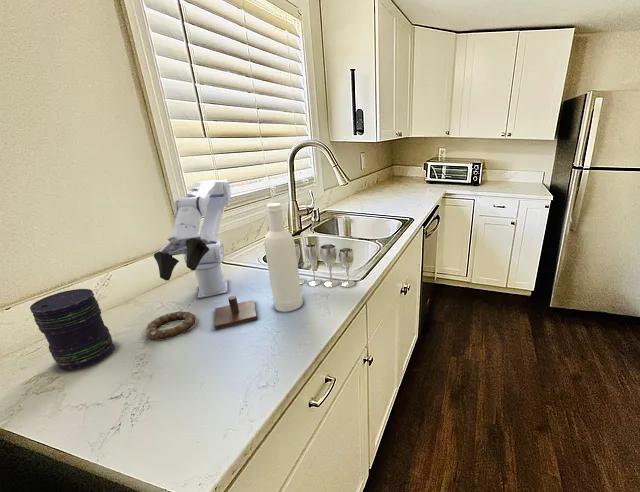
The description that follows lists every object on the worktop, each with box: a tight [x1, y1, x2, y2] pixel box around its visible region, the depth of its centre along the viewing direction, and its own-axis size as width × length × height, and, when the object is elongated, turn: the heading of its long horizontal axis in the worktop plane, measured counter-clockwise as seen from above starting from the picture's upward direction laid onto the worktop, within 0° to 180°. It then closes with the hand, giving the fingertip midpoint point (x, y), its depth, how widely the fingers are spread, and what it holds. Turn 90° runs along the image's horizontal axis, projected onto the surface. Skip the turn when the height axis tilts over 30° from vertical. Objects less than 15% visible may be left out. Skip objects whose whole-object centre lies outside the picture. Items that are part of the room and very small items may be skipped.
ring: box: [144, 310, 197, 340], centre depth 84 cm, size 11×11×2 cm
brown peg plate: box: [214, 295, 258, 331], centre depth 89 cm, size 10×10×6 cm
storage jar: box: [29, 288, 116, 372], centre depth 72 cm, size 10×10×15 cm
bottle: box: [263, 202, 304, 313], centre depth 90 cm, size 8×8×30 cm
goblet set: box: [295, 243, 356, 288], centre depth 106 cm, size 28×6×13 cm, turn 84°
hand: (177, 273), depth 80 cm, fingers open, 7 cm apart
